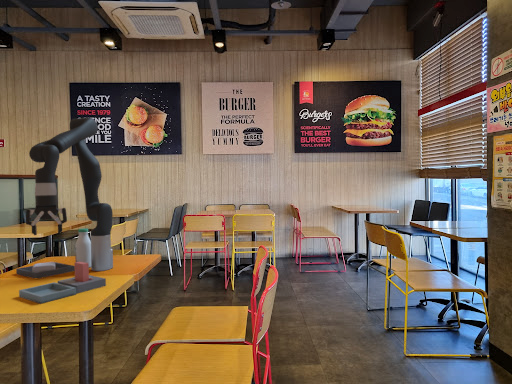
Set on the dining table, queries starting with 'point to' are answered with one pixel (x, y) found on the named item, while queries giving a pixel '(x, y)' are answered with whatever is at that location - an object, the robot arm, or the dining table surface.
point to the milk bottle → (83, 247)
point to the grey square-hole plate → (84, 283)
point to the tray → (47, 292)
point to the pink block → (81, 271)
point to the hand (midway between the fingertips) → (47, 234)
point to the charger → (43, 267)
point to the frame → (28, 271)
